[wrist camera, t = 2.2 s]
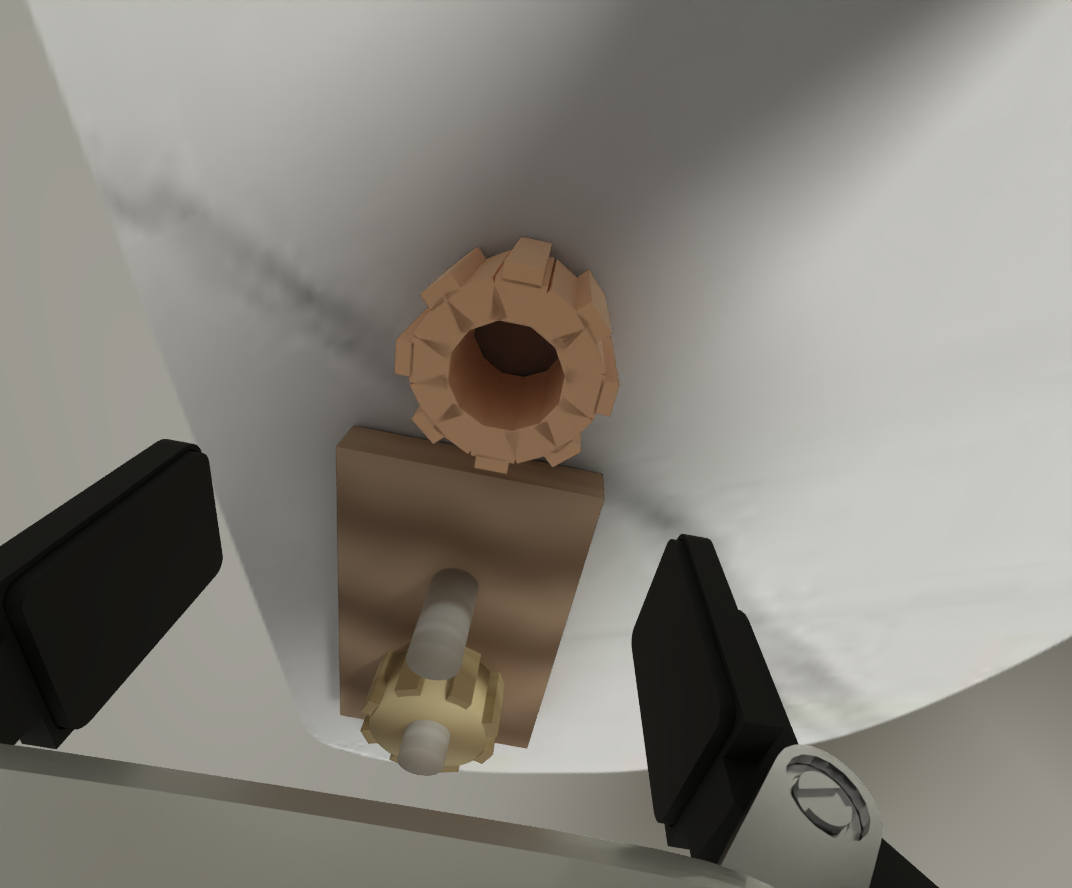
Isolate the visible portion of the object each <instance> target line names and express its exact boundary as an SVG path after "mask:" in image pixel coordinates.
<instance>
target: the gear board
mask: <svg viewBox="0 0 1072 888" xmlns="http://www.w3.org/2000/svg"><path fill="white" fill-rule="evenodd" d="M475 460H476V456H472V455H471V451H470V452H469V453H468V454H467V453H466V452H464V451H463V450H462V449H460V448H459V447H458V446H456V445H451V444H445V443H440V442H436V443H434V444H433V443H432V442H431V441H430V440H425V439H420V438H415V437H410V436H404V435H399V434H394V433H389V432H384V431H379V430H374V429H369V428H363V427H358V426H353V427H352V428H351V429H350V430H349V432H348V433H347V434H346V435H345V436H344V438H343V439H342V440H341V441H340V442H339V444H338V445H337V446H336V477H337V538H338V599H339V659H340V715H343V716H349V717H354V718H360V719H365V720H364V722H363V725H362V728H361V730H360V731H361V732H362V734H363V736H364V737H365V739H366V741H367V742H368V744H370V743H378V744H379V745H380V746H381V747H382V748H384V749H385V750H386V751H388V752H389V753H391V756H390V759H389V760H392V761H394V762H397V763H399V765H400V766H401V767H402V768H403V769H405V770H406V771H408V772H410V773H413V774H417V775H424V776H429V775H435V774H437V773H439V772H458V770H459V765H462V764H466V763H468V762H471V761H473V760H474V761H477V762H479V763H481V764H482V763H484V762H485V761H486V760H487V759H488V758H489V757H491V756H492V755H493V751H494V744H495V743H499V744H505V745H510V746H516V747H522V748H527V747H528V744H529V741H530V738H531V734H532V731H533V728H534V725H535V721H536V718H537V715H538V712H539V708H540V705H541V702H542V699H543V696H544V692H545V689H546V686H547V683H548V679H549V676H550V673H551V670H552V667H553V663H554V660H555V657H556V654H557V650H558V647H559V644H560V641H561V637H562V634H563V631H564V628H565V625H566V621H567V618H568V615H569V612H570V608H571V605H572V602H573V599H574V596H575V592H576V589H577V586H578V583H579V579H580V576H581V573H582V570H583V567H584V563H585V560H586V557H587V554H588V550H589V547H590V544H591V541H592V537H593V534H594V531H595V528H596V525H597V521H598V518H599V515H600V512H601V508H602V505H603V502H604V499H605V498H604V485H603V474H599V473H594V472H589V471H584V470H579V469H574V468H569V467H563V466H558V465H556V466H554V467H552V466H551V465H550V464H548V463H543V462H538V461H533V460H529V461H525V462H521V463H517V462H516V460H515V462H514V464H513V463H509V465H508V470H507V474H504V473H499V472H494V471H489V470H484V469H479V468H474V467H475Z"/></svg>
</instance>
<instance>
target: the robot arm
mask: <svg viewBox="0 0 1072 888" xmlns="http://www.w3.org/2000/svg"><path fill="white" fill-rule="evenodd" d="M222 560H223V555H222V548H221V541H220V535H219V527H218V521H217V513H216V508H215V500H214V493H213V486H212V479H211V472H210V465H209V460H208V457H207V455H206V454H204V453H202V452H201V449H200V448H199V447H198V446H197V445H195V444H191V443H185V442H180V441H174V440H169V439H162V440H160V441H157V442H156V443H154V444H153V445H152V446H150V447H149V448H147V449H145V450H144V451H142V452H141V453H139V454H138V455H136V456H135V457H133V458H132V459H130V460H129V461H127V462H126V463H124V464H123V465H121V466H120V467H118V468H117V469H115V470H114V471H113V472H111V473H109V474H108V475H106V476H105V477H103V478H102V479H100V480H99V481H97V482H96V483H94V484H93V485H91V486H90V487H88V488H87V489H85V490H84V491H83V492H81V493H79V494H78V495H76V496H75V497H73V498H72V499H70V500H69V501H67V502H66V503H64V504H63V505H61V506H60V507H58V508H57V509H55V510H54V511H53V512H51V513H49V514H48V515H46V516H45V517H44V518H42V519H40V520H39V521H37V522H36V523H34V524H33V525H31V526H30V527H28V528H27V529H25V530H24V531H22V532H21V533H19V534H18V535H16V536H15V537H13V538H12V539H10V540H9V541H7V542H6V543H4V544H3V545H2V546H0V888H939V887H938V886H936V885H935V884H934V883H933V882H932V881H931V880H929V879H928V878H927V877H926V876H925V875H924V874H923V873H921V872H920V871H919V870H918V869H917V868H916V867H915V866H913V865H912V864H911V863H910V862H909V861H908V860H907V859H905V858H904V857H903V856H902V855H901V854H900V853H898V852H897V851H896V850H895V849H894V848H893V847H892V846H891V845H889V844H888V843H887V842H886V841H885V840H884V839H883V838H882V822H881V818H880V815H879V811H878V808H877V806H876V804H875V802H874V800H873V799H872V797H871V795H870V793H869V791H868V790H867V789H866V787H865V786H864V785H863V784H862V782H861V781H860V780H859V779H858V778H857V776H856V775H855V774H854V773H853V772H852V771H851V770H850V769H849V768H847V767H846V766H845V765H844V764H843V763H842V762H841V761H839V760H838V759H836V758H834V757H833V756H831V755H830V754H828V753H827V752H825V751H823V750H820V749H817V748H815V747H812V746H809V745H799V744H798V742H797V739H796V737H795V734H794V732H793V729H792V727H791V724H790V722H789V719H788V717H787V714H786V712H785V709H784V707H783V704H782V702H781V699H780V697H779V694H778V692H777V689H776V687H775V685H774V682H773V680H772V677H771V675H770V672H769V670H768V667H767V665H766V662H765V660H764V657H763V655H762V652H761V650H760V647H759V645H758V642H757V640H756V637H755V635H754V632H753V630H752V627H751V625H750V622H749V620H748V618H747V616H746V615H745V614H744V613H743V612H742V611H741V610H738V608H737V605H736V603H735V600H734V598H733V595H732V592H731V590H730V587H729V585H728V582H727V580H726V577H725V574H724V572H723V569H722V567H721V564H720V561H719V559H718V556H717V554H716V551H715V549H714V546H713V543H712V542H711V540H710V539H708V538H703V537H697V536H692V535H686V534H681V535H680V536H679V537H678V538H677V540H674V539H670V540H669V541H668V543H667V545H666V548H665V551H664V553H663V556H662V558H661V561H660V563H659V566H658V568H657V571H656V573H655V576H654V578H653V581H652V583H651V586H650V588H649V591H648V594H647V596H646V599H645V601H644V604H643V606H642V609H641V611H640V614H639V616H638V619H637V621H636V624H635V626H634V629H633V633H632V653H633V660H634V668H635V675H636V683H637V690H638V698H639V705H640V712H641V720H642V727H643V735H644V742H645V750H646V757H647V765H648V772H649V779H650V787H651V794H652V802H653V809H654V814H655V818H656V820H657V822H658V823H664V824H665V830H666V837H667V843H668V846H671V847H677V848H683V849H690V854H691V857H688V856H684V855H680V854H675V853H671V852H667V851H663V850H659V849H654V848H648V847H643V846H638V845H632V844H627V843H622V842H616V841H611V840H605V839H600V838H594V837H588V836H583V835H577V834H572V833H567V832H561V831H556V830H550V829H544V828H538V827H532V826H526V825H519V824H513V823H507V822H501V821H495V820H489V819H483V818H477V817H470V816H465V815H459V814H452V813H446V812H440V811H434V810H428V809H421V808H416V807H410V806H404V805H398V804H391V803H385V802H378V801H372V800H366V799H360V798H353V797H347V796H341V795H335V794H328V793H322V792H316V791H310V790H303V789H297V788H291V787H284V786H278V785H271V784H265V783H258V782H253V781H246V780H239V779H233V778H227V777H220V776H214V775H208V774H202V773H195V772H188V771H182V770H175V769H169V768H162V767H156V766H149V765H142V764H136V763H130V762H123V761H117V760H110V759H103V758H97V757H90V756H83V755H77V754H70V753H64V752H57V751H51V750H44V749H37V748H30V747H22V746H14V745H15V744H16V742H17V741H18V740H19V739H20V740H21V742H22V744H27V745H33V746H40V747H47V748H52V749H57V748H58V747H59V746H60V745H61V744H62V743H63V741H64V740H65V739H66V738H67V737H68V736H69V735H70V733H71V732H72V731H73V730H74V729H80V728H82V727H83V726H85V725H86V724H88V722H90V720H92V718H93V717H94V716H95V715H96V714H97V713H98V712H99V710H100V709H101V708H102V707H103V706H104V705H105V703H106V702H107V701H108V700H109V699H110V697H111V696H112V695H113V694H114V693H115V691H117V690H118V688H119V687H120V686H121V685H122V684H123V683H124V681H125V680H126V679H127V678H128V677H129V676H130V674H131V673H132V672H133V671H134V670H135V669H136V667H137V666H138V665H139V664H140V663H141V662H142V661H143V659H144V658H145V657H146V656H147V655H148V654H149V652H150V651H151V650H152V649H153V648H154V647H155V645H156V644H157V643H158V642H159V641H160V640H161V639H162V637H163V636H164V635H165V634H166V633H167V631H168V630H169V629H170V628H171V627H172V626H173V624H174V623H175V622H176V621H177V620H178V618H179V617H181V615H182V614H183V613H184V612H185V611H186V609H187V608H188V607H189V606H190V605H191V604H192V603H193V601H194V600H195V599H196V598H197V597H198V596H199V594H200V593H201V592H202V591H203V590H204V589H205V587H206V586H207V585H208V584H209V583H210V582H211V581H212V579H213V578H214V577H215V576H216V575H217V573H218V572H219V570H220V567H221V564H222Z"/></svg>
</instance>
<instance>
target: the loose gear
mask: <svg viewBox="0 0 1072 888" xmlns="http://www.w3.org/2000/svg"><path fill="white" fill-rule="evenodd" d="M551 246H552V243H549V242H544V241H539V240H534V239H530V238H525V237H521V238H520V239H519V241H518V242H517V243H516V245H515V246H514V248H513V249H512V251H511V250H508V251H506V252H503V253H500V254H498V255H495V256H492V257H490V258H487V259H486V257H485V256H484V255H483V253H482V252H481V250H480V249H479V247H476V248H475V249H474V250H472V251H471V252H470V253H468V254H467V255H466V256H464V257H463V258H462V259H460V260H459V261H458V262H456V263H455V264H454V265H453V266H451V267H450V268H449V269H448V270H447V271H446V272H445V273H444V274H442V275H441V276H440V277H439V278H438V279H437V280H436V281H435V282H433V283H432V284H431V285H430V286H429V287H428V288H427V289H426V290H424V291H423V292H422V293H421V294H420V296H421V297H422V299H423V300H424V301H425V302H426V304H427V305H428V306H429V307H428V308H427V309H426V310H425V311H424V312H423V313H422V314H421V315H420V316H419V317H418V318H417V319H416V320H415V321H414V322H413V323H412V324H411V325H410V326H409V327H408V328H407V329H406V330H405V331H404V332H403V333H402V334H401V335H400V336H399V337H398V338H397V339H396V353H395V374H399V375H404V376H409V382H411V384H410V387H411V389H412V391H413V393H414V395H415V397H416V399H417V401H418V403H419V405H420V406H419V407H418V409H417V410H416V412H415V414H414V415H413V417H412V418H411V419H412V420H413V422H414V423H415V424H416V425H417V426H418V427H419V428H420V430H421V431H422V432H423V433H424V434H425V435H426V437H427V438H428V439H429V440H430V441H431V442H432V443H433V444H434V443H436V442H437V441H439V440H441V439H442V438H444V437H445V438H447V439H448V440H450V441H451V442H452V443H454V444H455V445H456V446H458V447H459V448H460V449H462V450H463V451H464V452H466V453H467V454H468V453H469V452H470V451H471V455H472V456H476V460H475V467H474V468H479V469H484V470H489V471H494V472H499V473H504V474H507V470H508V465H509V463H513V464H514V462H515V460H516V462H517V463H521V462H525V461H529V460H532V459H536V458H540V457H545V458H546V460H547V461H548V462H549V463H550V465H551V466H552V467H554V466H556V465H558V464H560V463H562V462H563V461H565V460H567V459H569V458H571V457H573V456H575V455H576V454H578V453H580V452H581V432H582V431H583V430H584V429H585V428H586V427H587V426H588V425H589V424H591V423H592V422H593V419H594V418H595V415H596V414H601V415H606V416H610V415H611V412H612V409H613V405H614V402H615V398H616V395H617V391H618V388H619V379H618V373H617V368H616V362H615V356H614V351H613V345H612V339H611V337H609V335H611V334H612V330H611V325H610V320H609V314H608V309H607V303H606V298H605V295H604V293H603V291H602V290H601V288H600V286H599V285H598V283H597V281H596V280H595V278H594V277H593V275H592V273H591V272H590V270H587V271H586V272H584V273H583V274H581V275H580V276H578V277H576V276H575V275H574V274H573V273H572V272H571V271H570V270H569V269H567V268H566V267H565V266H564V265H563V264H562V263H561V262H560V261H559V260H558V259H557V260H556V261H555V262H554V259H555V258H553V257H550V252H551ZM498 320H500V321H505V322H510V323H515V324H520V325H525V326H530V327H532V328H533V329H534V330H535V331H536V332H538V333H539V334H540V335H541V336H542V337H543V338H545V339H546V340H547V341H548V342H549V343H550V344H552V345H553V346H554V347H555V349H556V351H557V354H558V357H559V358H558V359H557V360H556V361H555V362H554V363H553V364H552V366H551V367H550V368H549V369H548V370H547V371H543V372H540V373H537V374H534V375H530V376H527V377H521V376H516V375H511V374H506V373H502V372H500V371H499V370H498V369H497V368H496V367H494V366H493V365H492V364H491V363H489V362H488V361H487V360H486V359H484V358H483V356H482V353H481V351H480V348H479V346H478V344H477V341H476V339H475V336H474V333H475V328H478V327H481V326H483V325H486V324H489V323H492V322H495V321H498Z"/></svg>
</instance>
